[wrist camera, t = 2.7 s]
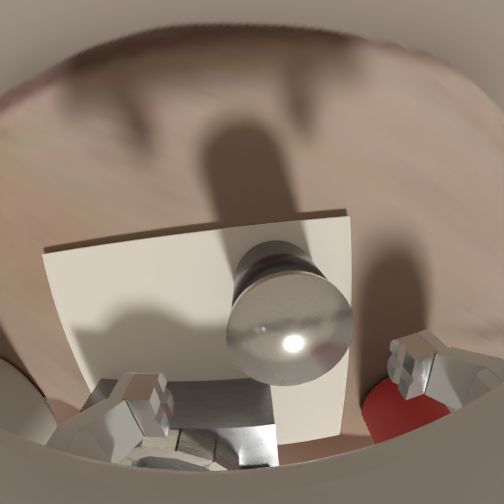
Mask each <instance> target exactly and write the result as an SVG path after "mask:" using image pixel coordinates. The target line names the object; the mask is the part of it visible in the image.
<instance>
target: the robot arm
mask: <svg viewBox="0 0 504 504" xmlns="http://www.w3.org/2000/svg"><path fill="white" fill-rule="evenodd" d="M389 350H390V351H391V353H392V355H391V356H390V357H389V359H388V364H387V369H388V375H389V377H390V379H391V380H392V382H393V383H396V384H398V385H399V387H398V390H399V392H400V393H401V394H402V396H403V397H404V399H405V400H408V399H411V398H414V397H416V396H419V395H422V394H425V395H427V396H429V397H431V398H433V399H435V400H437V401H439V402H441V403H443V404H445V405H448V406H450V407H452V408H454V409H456V411H454V412H452V413H450V414H448V415H446V416H444V417H442V418H440V419H438V420H436V421H433V422H431V423H429V424H427V425H424V426H422V427H420V428H417V429H415V430H413V431H410V432H408V433H405V434H403V435H400V436H397V437H394V438H392V439H389V440H386V441H383V442H380V443H377V444H374V445H371V446H368V447H364V448H361V449H358V450H354V451H350V452H347V453H343V454H339V455H335V456H330V457H326V458H322V459H317V460H312V461H307V462H301V463H295V464H289V465H282V466H274V467H266V468H256V469H244V470H225V471H186V470H167V469H155V468H145V467H137V466H130V465H123V464H117V463H118V462H119V461H120V460H121V459H123V458H124V457H125V456H126V455H127V454H128V453H129V452H130V451H131V450H132V449H133V448H134V447H135V446H136V445H137V444H138V443H139V442H140V441H142V440H143V439H144V437H167V434H168V430H169V426H170V423H169V421H168V419H169V418H170V417H171V416H172V414H173V410H174V402H173V397H172V394H171V391H169V390H168V389H167V388H166V384H167V381H166V378H165V375H164V374H162V373H135V372H125V373H122V375H121V377H120V378H119V380H118V382H117V384H116V385H115V387H114V389H113V391H112V393H111V394H110V396H109V398H108V399H103V400H101V401H100V402H98V403H96V404H94V405H93V406H91V407H89V408H88V409H86V410H84V411H82V412H81V413H79V414H77V415H76V416H74V417H72V418H70V419H68V420H67V421H65V422H63V423H61V424H59V425H58V426H57V427H56V429H55V431H54V432H53V434H52V435H51V437H50V439H49V440H48V442H47V443H46V445H42V444H39V443H36V442H33V441H30V440H28V439H25V438H23V437H20V436H17V435H15V434H13V433H10V432H8V431H6V430H3V429H1V428H0V504H504V360H503V359H501V358H498V357H493V356H489V355H484V354H480V353H475V352H471V351H467V350H462V349H458V348H454V347H451V348H448V347H447V346H446V345H445V344H444V343H443V342H441V341H440V340H439V339H438V338H437V337H436V336H434V335H433V334H432V333H431V332H430V331H428V330H422V331H419V332H416V333H414V334H411V335H408V336H404V337H401V338H397V339H394V340H392V341H391V343H390V349H389Z"/></svg>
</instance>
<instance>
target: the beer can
mask: <svg viewBox="0 0 504 504" xmlns="http://www.w3.org/2000/svg"><path fill="white" fill-rule="evenodd" d="M398 387H399V385H398V384H396V383H393V382H392V380H391V379H390V377H387V378H385V379H384V380H382V381H381V382H380V383H378V384H377V385H376V386H375V387H374V388H373V389H372V390H371V391H370V392H369V394H368V395H367V397H366V399H365V401H364V403H363V405H362V413H361V414H362V416H363V418H364V421H365V423H366V425H367V427H368V430H369V432H370V434H371V436H372V438H373V441H374V443H375V444H377V443H380V442H383V441H386V440H389V439H392V438H394V437H397V436H400V435H403V434H405V433H408V432H410V431H413V430H415V429H417V428H420V427H422V426H424V425H427V424H429V423H431V422H433V421H436V420H438V419H440V418H442V417H444V416H446V415H448V414H450V413H451V412H450V411H449V409H448V408H447V407H446V406H445V404H443V403H441V402H439V401H437V400H435V399H433V398H431V397H429V396H427V395H425V394H422V395H419V396H416V397H414V398H411V399H408V400H405V399H404V397H403V396H402V394H401V393H400V392H399V390H398Z"/></svg>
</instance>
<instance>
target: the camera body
mask: <svg viewBox="0 0 504 504" xmlns="http://www.w3.org/2000/svg"><path fill="white" fill-rule="evenodd" d="M117 382H118V380H116V379H103V378H101V379H100V381H99V383H98V384H97V386H96V387H95V389H94V390H93V392H92V393H91V395H90V396H89V398H88V399H87V401H86V403H85V404H84V406H83V407H82V409H81V411H80V412H79V413H81V412H82V411H84V410H86V409H88V408H89V407H91V406H93V405H94V404H96V403H98V402H100V401H101V400H103V399H108V398H109V396H110V394H111V393H112V391H113V389H114V387H115V385H116V384H117ZM166 388H167V389H168V390H169V391H171V394H172V397H173V402H174V410H173V414H172V416H171V417H170V418H169V419H168V421H169V423H170V426H169V430H168V434H167V437H144V439H143V440H142V441H140V442H139V443H138V444H137V445H136V446H135V447H134V448H133V449H132V450H131V451H130V452H129V453H128V454H127V455H126V456H125V457H124V458H123V459H121V460H120V461H119V462H118V463H117V464H123V465H130V466H137V467H145V468H155V469H167V470H186V471H225V470H244V469H256V468H266V467H274V466H279V463H278V452H277V442H276V431H275V422H274V413H273V404H272V396H271V387H270V385H269V384H265V383H262V382H259V381H257V380H255V379H253V378H243V379H230V380H212V381H167V384H166Z"/></svg>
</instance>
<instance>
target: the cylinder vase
mask: <svg viewBox="0 0 504 504" xmlns="http://www.w3.org/2000/svg"><path fill="white" fill-rule="evenodd" d="M56 427H57V421H56V418H55V416H54V414H53V412H52V410H51V408H50V407H49V405H48V403H47V402H46V400H45V399H44V397H43V396H42V395H41V393H40V392H39V391H38V390H37V389H36V387H35V386H34V385H33V384H32V383H31V382H30V381H29V380H28V379H27V378H26V377H25V376H24V375H23V374H22V373H21V372H20V371H19V370H18V369H16V368H15V367H14V366H13V365H11V364H10V363H8V362H7V361H5V360H3V359H1V358H0V428H1V429H3V430H6V431H8V432H10V433H13V434H15V435H17V436H20V437H23V438H25V439H28V440H30V441H33V442H36V443H39V444H42V445H46V443H47V442H48V440H49V439H50V437H51V435H52V434H53V432H54V431H55V429H56Z"/></svg>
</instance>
